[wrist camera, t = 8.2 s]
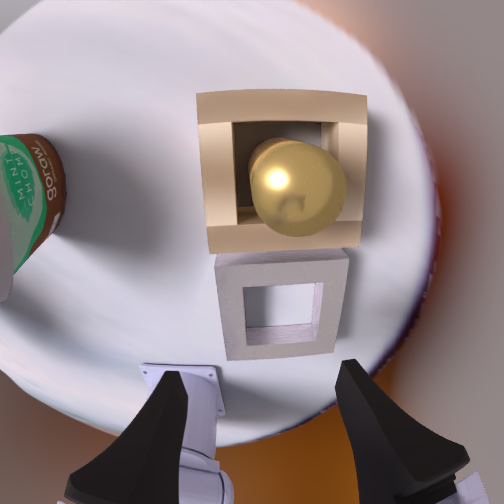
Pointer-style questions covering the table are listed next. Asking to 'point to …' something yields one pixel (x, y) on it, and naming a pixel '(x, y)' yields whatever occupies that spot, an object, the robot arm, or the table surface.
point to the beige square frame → (278, 110)
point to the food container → (27, 200)
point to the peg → (296, 186)
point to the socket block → (281, 273)
